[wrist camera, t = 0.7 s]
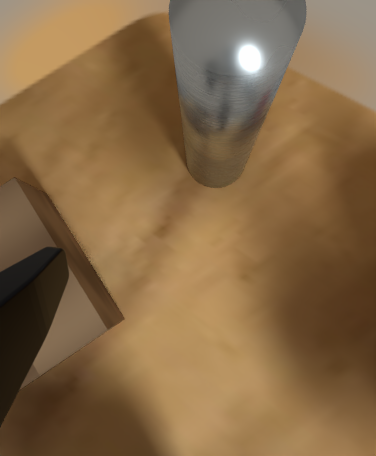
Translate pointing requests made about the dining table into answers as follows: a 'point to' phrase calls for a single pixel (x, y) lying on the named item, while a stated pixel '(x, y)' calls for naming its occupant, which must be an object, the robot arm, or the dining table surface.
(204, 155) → the pin
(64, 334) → the slot block
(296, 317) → the dining table surface
